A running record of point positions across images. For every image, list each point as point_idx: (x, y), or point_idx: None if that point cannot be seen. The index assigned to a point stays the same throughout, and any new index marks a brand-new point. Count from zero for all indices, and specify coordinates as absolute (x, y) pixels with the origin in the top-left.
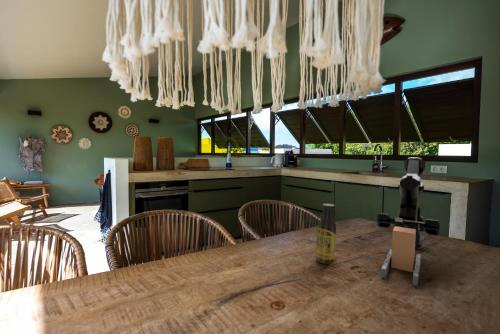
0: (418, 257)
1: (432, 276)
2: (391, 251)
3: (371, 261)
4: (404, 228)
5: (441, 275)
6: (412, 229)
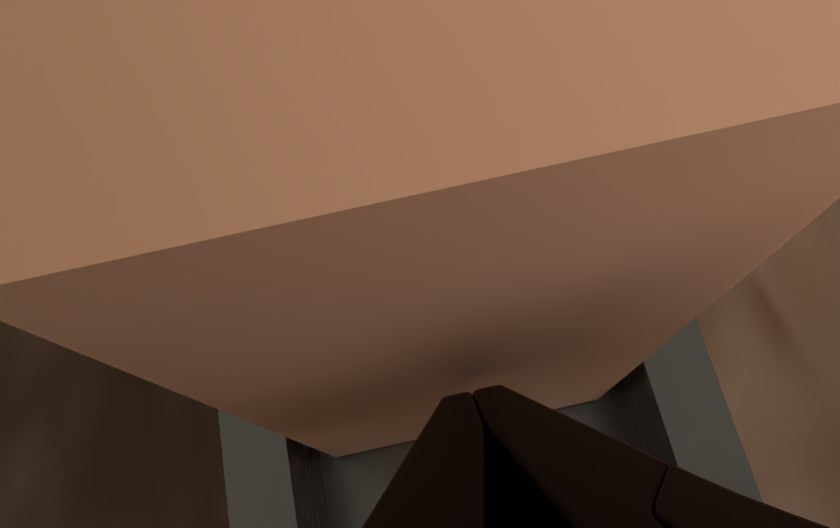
0: (252, 485)
1: (132, 396)
2: (695, 439)
3: (833, 303)
4: (448, 4)
5: (42, 519)
6: (95, 118)
